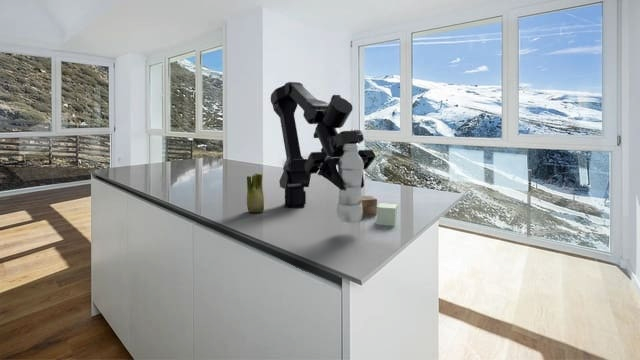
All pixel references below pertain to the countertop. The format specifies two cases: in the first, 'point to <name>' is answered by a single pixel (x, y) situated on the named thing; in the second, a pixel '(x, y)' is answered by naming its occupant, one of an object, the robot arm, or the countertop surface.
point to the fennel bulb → (255, 194)
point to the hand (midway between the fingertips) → (352, 188)
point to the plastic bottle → (350, 184)
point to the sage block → (386, 214)
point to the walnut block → (369, 205)
